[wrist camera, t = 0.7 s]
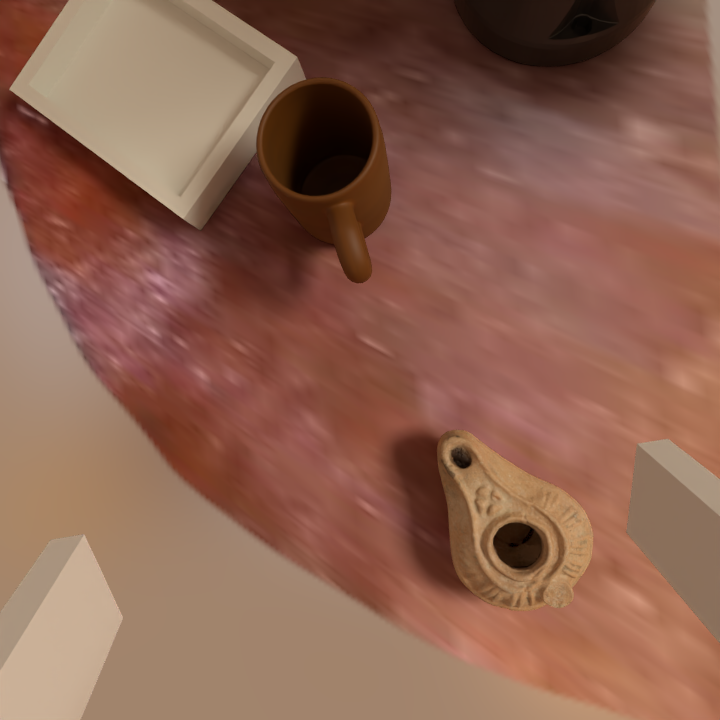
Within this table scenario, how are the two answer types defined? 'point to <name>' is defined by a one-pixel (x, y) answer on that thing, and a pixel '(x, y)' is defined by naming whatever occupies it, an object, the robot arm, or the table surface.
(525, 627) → the table surface
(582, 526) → the pottery oil lamp
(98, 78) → the tray
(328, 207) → the mug
